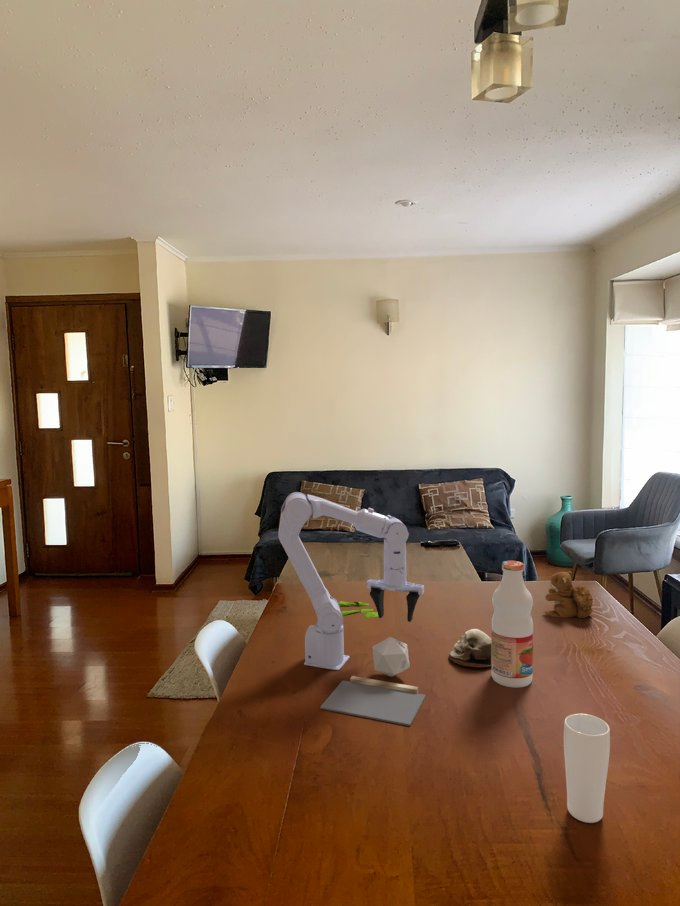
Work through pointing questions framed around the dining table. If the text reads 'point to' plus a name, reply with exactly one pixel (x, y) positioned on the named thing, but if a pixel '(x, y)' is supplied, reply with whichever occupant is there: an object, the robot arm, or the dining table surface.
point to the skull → (472, 649)
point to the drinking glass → (586, 765)
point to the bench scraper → (374, 702)
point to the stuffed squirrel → (568, 597)
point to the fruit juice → (512, 629)
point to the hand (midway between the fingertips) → (395, 618)
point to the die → (390, 657)
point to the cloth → (367, 615)
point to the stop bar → (384, 684)
